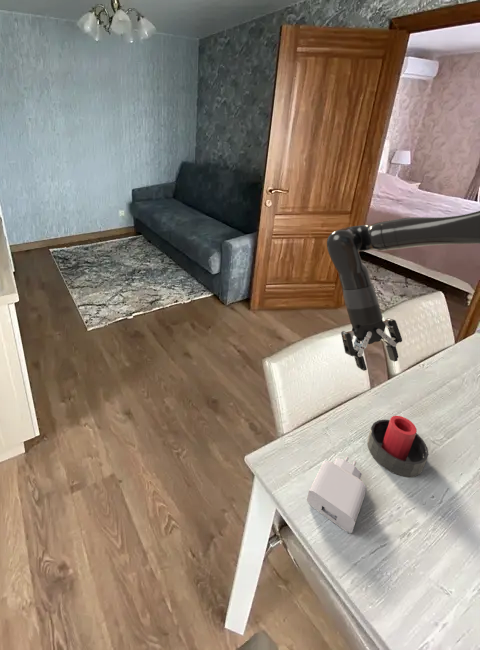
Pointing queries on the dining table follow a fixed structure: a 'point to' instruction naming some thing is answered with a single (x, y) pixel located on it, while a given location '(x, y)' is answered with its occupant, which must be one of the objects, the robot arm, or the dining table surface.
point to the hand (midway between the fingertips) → (378, 365)
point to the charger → (338, 493)
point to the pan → (391, 463)
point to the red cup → (399, 437)
